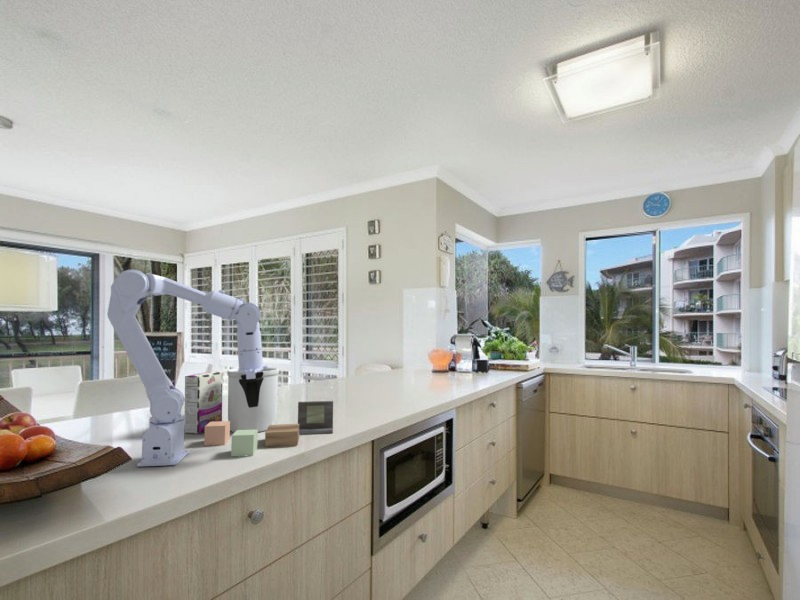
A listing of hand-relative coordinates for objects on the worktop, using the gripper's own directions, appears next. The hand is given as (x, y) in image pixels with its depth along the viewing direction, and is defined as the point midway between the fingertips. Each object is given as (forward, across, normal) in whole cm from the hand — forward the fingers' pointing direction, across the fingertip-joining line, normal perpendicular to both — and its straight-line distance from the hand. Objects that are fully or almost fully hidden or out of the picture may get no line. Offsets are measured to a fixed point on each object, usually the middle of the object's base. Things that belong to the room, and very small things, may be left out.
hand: (253, 403), depth 104 cm
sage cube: (+11, -3, +3) cm, 12 cm away
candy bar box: (+10, +24, +15) cm, 31 cm away
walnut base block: (+12, +4, -6) cm, 14 cm away
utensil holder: (+12, +22, +2) cm, 25 cm away
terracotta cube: (+10, +8, +10) cm, 17 cm away
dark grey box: (+13, +12, -16) cm, 24 cm away
